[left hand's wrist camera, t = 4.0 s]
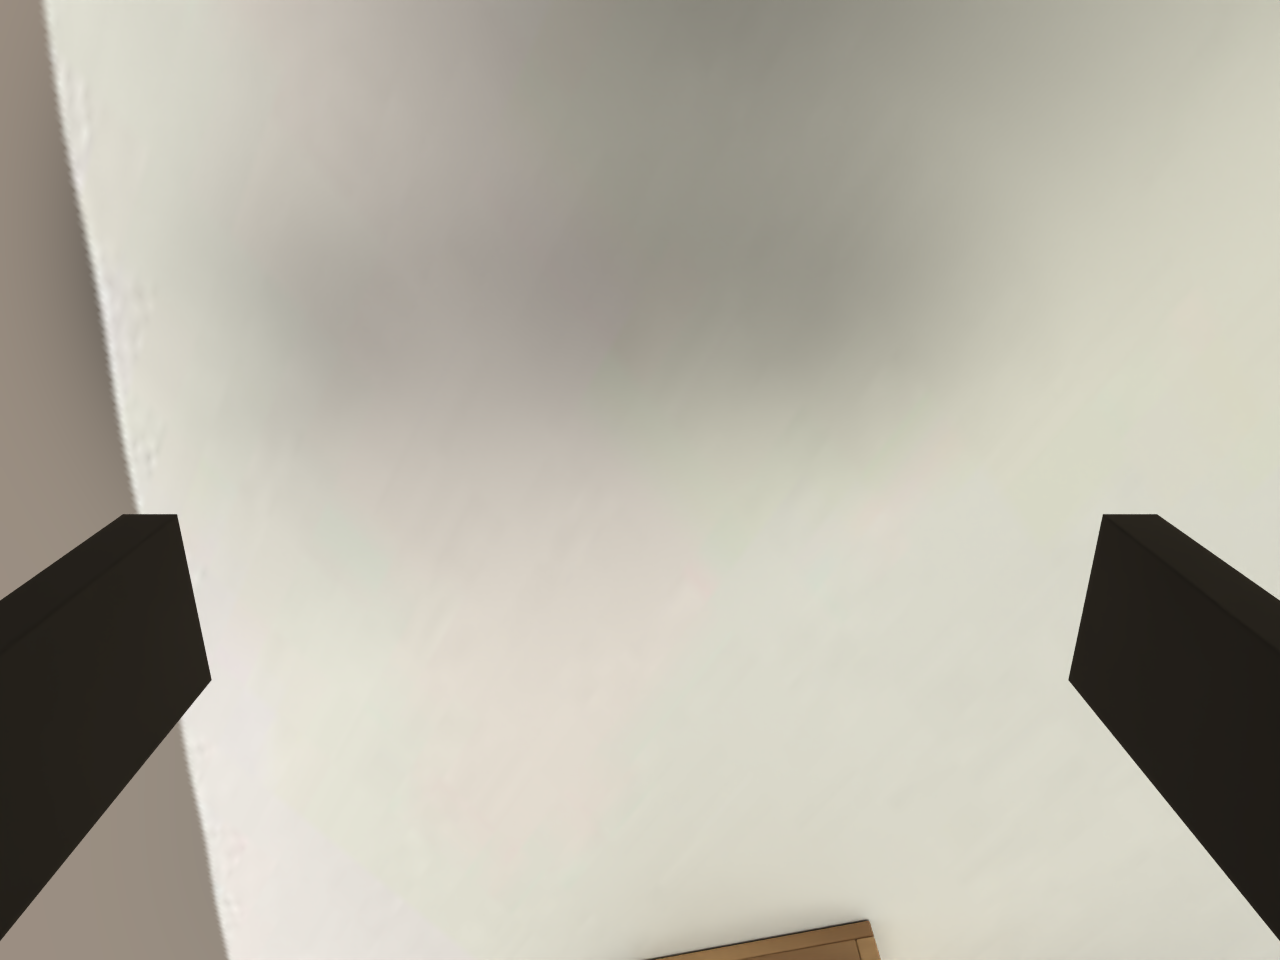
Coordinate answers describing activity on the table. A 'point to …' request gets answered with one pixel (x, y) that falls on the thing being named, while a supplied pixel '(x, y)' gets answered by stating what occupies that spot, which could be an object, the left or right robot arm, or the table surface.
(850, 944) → the chest
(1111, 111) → the table surface
